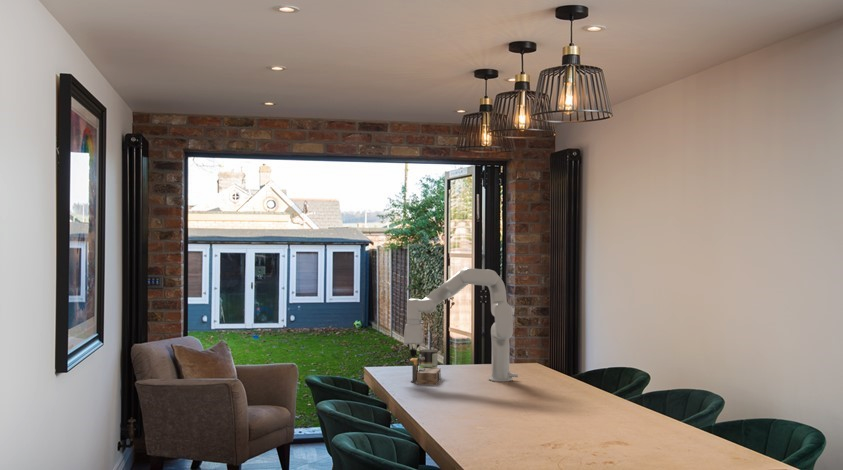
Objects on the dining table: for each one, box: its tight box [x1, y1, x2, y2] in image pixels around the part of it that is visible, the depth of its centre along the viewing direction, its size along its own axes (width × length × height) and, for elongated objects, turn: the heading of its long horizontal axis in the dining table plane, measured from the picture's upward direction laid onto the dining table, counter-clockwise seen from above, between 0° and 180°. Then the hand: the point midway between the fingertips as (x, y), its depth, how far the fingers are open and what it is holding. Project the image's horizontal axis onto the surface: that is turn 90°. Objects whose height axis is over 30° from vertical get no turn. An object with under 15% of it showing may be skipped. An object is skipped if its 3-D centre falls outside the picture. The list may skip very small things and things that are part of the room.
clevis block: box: [410, 362, 442, 386], centre depth 418 cm, size 14×18×9 cm
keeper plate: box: [409, 357, 419, 370], centre depth 419 cm, size 3×5×6 cm, turn 172°
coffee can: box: [418, 348, 438, 370], centre depth 437 cm, size 10×10×14 cm
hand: (413, 356), depth 419 cm, fingers closed
